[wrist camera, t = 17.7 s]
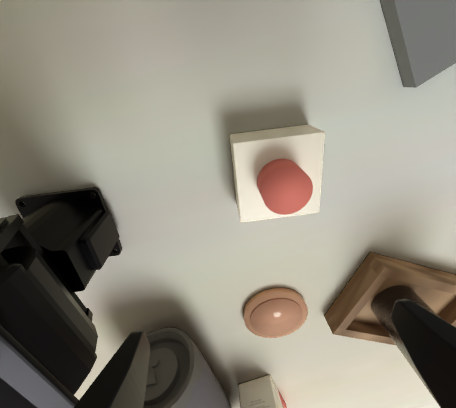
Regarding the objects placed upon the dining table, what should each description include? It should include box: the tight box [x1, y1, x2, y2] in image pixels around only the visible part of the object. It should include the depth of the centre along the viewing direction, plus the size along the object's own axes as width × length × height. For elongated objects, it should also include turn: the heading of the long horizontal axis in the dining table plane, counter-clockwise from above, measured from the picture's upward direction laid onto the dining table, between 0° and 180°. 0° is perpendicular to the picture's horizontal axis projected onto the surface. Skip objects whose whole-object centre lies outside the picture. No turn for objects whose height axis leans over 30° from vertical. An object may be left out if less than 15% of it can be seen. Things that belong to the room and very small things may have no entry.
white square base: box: [230, 125, 325, 223], centre depth 19 cm, size 6×6×3 cm
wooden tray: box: [324, 252, 456, 345], centre depth 27 cm, size 14×10×2 cm
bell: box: [371, 285, 440, 406], centre depth 21 cm, size 5×5×14 cm
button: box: [257, 159, 313, 215], centre depth 16 cm, size 3×3×2 cm
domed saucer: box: [244, 288, 308, 338], centre depth 27 cm, size 7×7×1 cm
